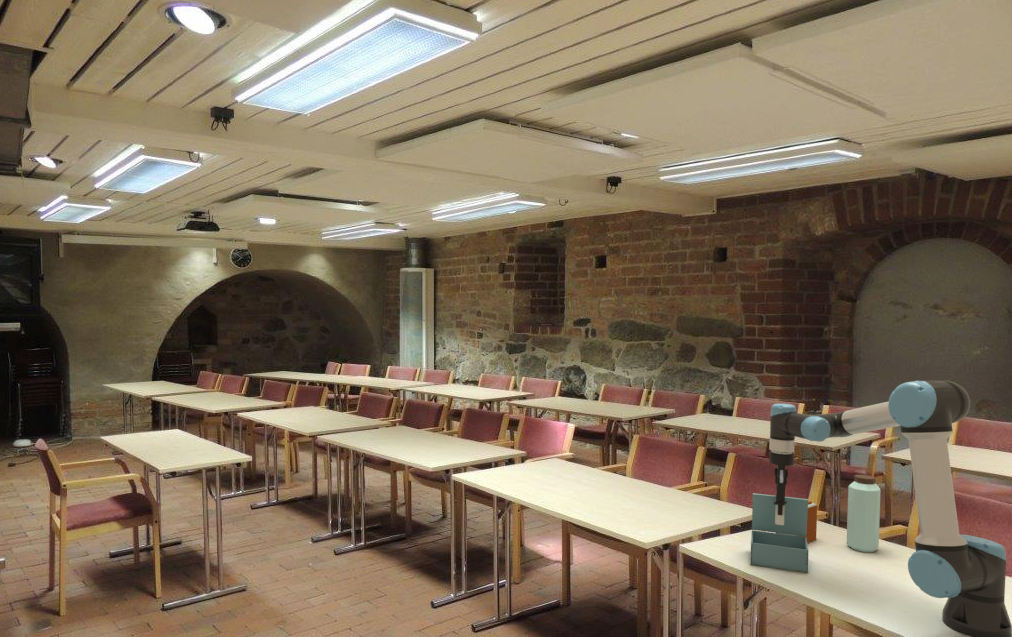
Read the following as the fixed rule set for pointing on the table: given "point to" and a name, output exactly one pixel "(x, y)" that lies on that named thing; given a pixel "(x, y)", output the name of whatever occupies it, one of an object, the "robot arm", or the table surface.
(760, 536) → the grey-green open box
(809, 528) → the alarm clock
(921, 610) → the table surface
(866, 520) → the water bottle
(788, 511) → the lid
